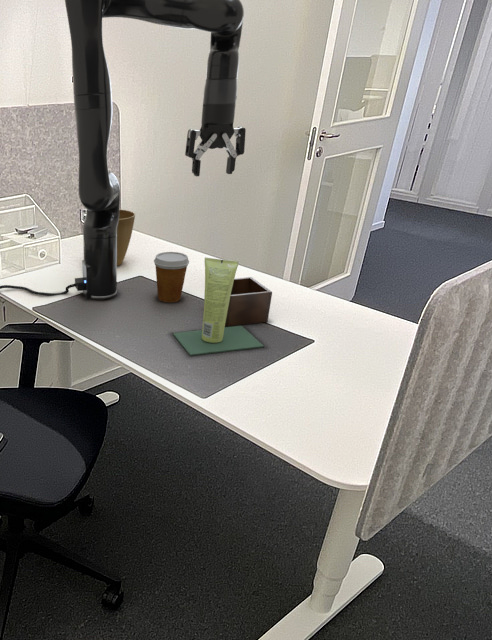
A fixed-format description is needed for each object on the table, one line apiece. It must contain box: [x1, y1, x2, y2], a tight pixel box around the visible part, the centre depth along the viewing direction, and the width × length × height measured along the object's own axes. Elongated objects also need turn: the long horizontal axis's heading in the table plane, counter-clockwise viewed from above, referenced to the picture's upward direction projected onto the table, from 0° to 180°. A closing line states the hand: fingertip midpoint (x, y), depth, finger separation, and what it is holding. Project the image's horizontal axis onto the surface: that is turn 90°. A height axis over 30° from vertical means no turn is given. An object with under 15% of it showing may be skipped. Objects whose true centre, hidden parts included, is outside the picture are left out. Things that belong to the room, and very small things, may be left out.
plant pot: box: [117, 208, 136, 267], centre depth 184 cm, size 15×15×16 cm
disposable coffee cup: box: [153, 251, 190, 303], centre depth 157 cm, size 10×10×12 cm
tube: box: [201, 256, 240, 343], centre depth 131 cm, size 6×5×20 cm
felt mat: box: [172, 325, 264, 357], centre depth 136 cm, size 18×12×1 cm, turn 102°
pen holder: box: [225, 276, 273, 327], centre depth 147 cm, size 12×12×8 cm
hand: (212, 174), depth 141 cm, fingers open, 8 cm apart
